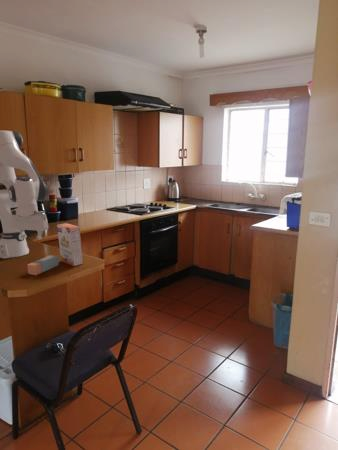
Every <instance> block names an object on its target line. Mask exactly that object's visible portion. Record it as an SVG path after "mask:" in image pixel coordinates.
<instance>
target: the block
mask: <svg viewBox="0 0 338 450" xmlns="http://www.w3.org/2000/svg"><path fill="white" fill-rule="evenodd" d="M27 272H28V273H27V274H28V275H31V276H37V275H40V274H42V273H43V272H42V268H41V263H38V262H35V261H33V262H31V263H28V264H27Z"/></svg>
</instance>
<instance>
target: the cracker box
mask: <svg viewBox="0 0 338 450" xmlns="http://www.w3.org/2000/svg"><path fill="white" fill-rule="evenodd" d="M56 228H57V229H56V230H57V237H58V238H57V239H58V245H59V252H60V253H59V254H60V261H61V262H62V263H65V264H66V265H69V266H71V267H77V266H81V265H83V264H84V262H83V260H84V259H83V249H82V241H81V239H82V238H81V231H80V229H81V228H80V226H78V225H75V224H71V223H67V222H65V223H60V224H56Z"/></svg>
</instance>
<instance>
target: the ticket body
mask: <svg viewBox="0 0 338 450" xmlns="http://www.w3.org/2000/svg"><path fill="white" fill-rule="evenodd" d="M34 262H38V263H41V268H42V273H44V272H46V271H48V270H51V269H53V268H56V267H57V266H59V265H60V263H59V255H52V254H51V255H47V256H45V257H43V258H40V259H37V260H35V261H34Z"/></svg>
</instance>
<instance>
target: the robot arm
mask: <svg viewBox="0 0 338 450" xmlns="http://www.w3.org/2000/svg"><path fill="white" fill-rule="evenodd" d="M23 142H24V139H23V136H22V134H21V133H20V132H19V131H17V130H0V184H1V185H2V184H3V185H4V186H5V187H6V188H5V189H0V223H1V227H2V232H1V233H0V236H1V238H0V259H10V258H17V257H18V258H19V257H23V256H25V255H28V254H29V253H30V249H29V246H28V242H27V238H28V236H27V234H28V233H25V231H36V232H37V235H36V240H42V235H43V232H44V231H47V230H49V223H48V219H47V215H46V213H45V212H44V211H41V210H40V211H39V209H38V208H39V207H38V202H43V201H46V199H47V198H48V196H49V194H50V193H49V188H48V185H47V184H46V183H45V182H44V180H43V179H42V177H41V176H40V174H39V171H38V170H37V168H36V166H35V164H34V163H33V161H32V160H31V158H30V157H28V156H27V155H26V154H24V153H23V152H22V151H21V148H22V147H23V144H24V143H23ZM15 169H18V170H21V171H23V172H25V173H26V174H27V175H28V176H18V177H17V176H16V172H15ZM13 208H14V209H13Z"/></svg>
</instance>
